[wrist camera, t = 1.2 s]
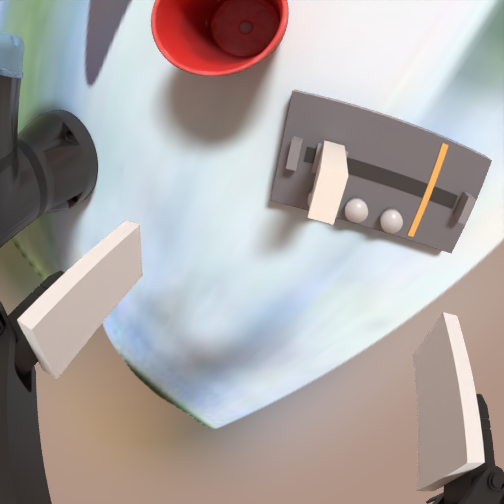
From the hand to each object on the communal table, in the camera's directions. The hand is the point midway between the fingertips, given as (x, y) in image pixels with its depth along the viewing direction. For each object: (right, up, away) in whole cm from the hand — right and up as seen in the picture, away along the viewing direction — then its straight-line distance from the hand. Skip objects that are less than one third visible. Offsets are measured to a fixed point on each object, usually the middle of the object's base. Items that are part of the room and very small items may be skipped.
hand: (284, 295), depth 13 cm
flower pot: (-2, +24, +14) cm, 28 cm away
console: (+13, +10, +19) cm, 25 cm away
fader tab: (+6, +11, +17) cm, 21 cm away
